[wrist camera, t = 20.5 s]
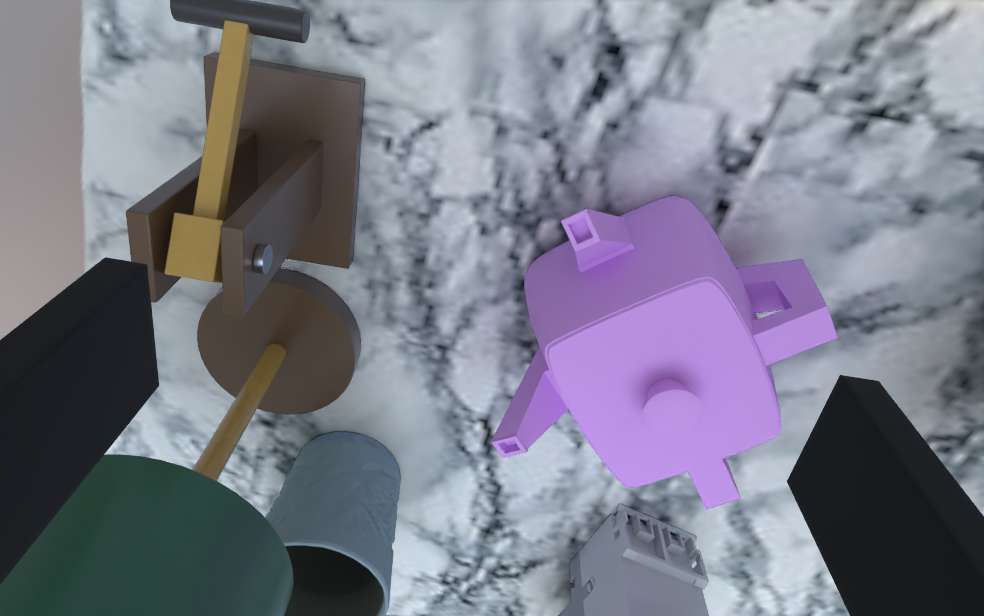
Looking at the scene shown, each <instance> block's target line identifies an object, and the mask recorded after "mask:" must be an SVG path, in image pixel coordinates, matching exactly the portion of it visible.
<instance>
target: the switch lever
mask: <svg viewBox="0 0 984 616" xmlns="http://www.w3.org/2000/svg"><path fill="white" fill-rule="evenodd" d="M170 8H171V13H172V16H173V18H174V19H175V20H176V21H180V22H186V23H191V24H197V25H203V26H209V27H214V28H220V29H223V34H222V40H221V47H220V53H219V59H218V65H217V71H216V77H215V83H214V90H213V96H212V102H211V108H210V114H209V120H208V127H207V133H206V139H205V145H204V151H203V157H202V163H201V170H200V176H199V182H198V188H197V194H196V200H195V207H194V213H193V215H188V214H182V213H174V218H173V224H172V231H171V237H170V243H169V249H168V255H167V261H166V268H165V274H167V275H173V276H179V277H186V278H192V279H198V280H205V281H211V282H220V283H222V257H221V231H220V227H221V225H222V224H223V223H224V222H225V221H224V217H225V211H226V205H227V199H228V193H229V187H230V181H231V174H232V168H233V162H234V156H235V150H236V144H237V137H238V131H239V125H240V119H241V113H242V107H243V100H244V94H245V88H246V82H247V76H248V70H249V63H250V57H251V51H252V45H253V39H254V35H260V36H266V37H271V38H277V39H283V40H288V41H294V42H300V43H305V42H306V41H307V39H308V36H309V30H310V18H309V14H308V12H307V11H306V10H301V9H296V8H290V7H284V6H279V5H273V4H267V3H262V2H256V1H250V0H170Z"/></svg>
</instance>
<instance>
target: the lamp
mask: <svg viewBox="0 0 984 616" xmlns="http://www.w3.org/2000/svg"><path fill="white" fill-rule="evenodd" d="M197 341H198V348H199V351H200V355H201V358H202V360H203V362H204V364H205V366H206V368H207V370H208V371H209V373H210V374H211V375H212V377H213V378H214V379H215V381H216V382H217V383H218V384H219V385H220V386H221V387H222V388H223V389H225V390H226V391H227V392H228V393H229V394H231V395H232V396H234V397H235V398H236V399H235V401H234V402H233V404H232V405H231V407H230V409H229V410H228V412H227V414H226V415H225V417H224V419H223V420H222V422H221V423H220V425H219V427H218V428H217V430H216V432H215V433H214V435H213V437H212V438H211V440H210V442H209V443H208V445H207V446H206V448H205V450H204V451H203V453H202V455H201V456H200V458H199V460H198V461H197V463H196V465H195V466H194V468H193V469H192V470H190V469H188V468H185V467H183V466H180V465H176V464H173V463H169V462H166V461H162V460H157V459H152V458H147V457H141V456H131V455H103V456H102V458H101V459H100V460H99V461H98V463H97V464H96V465H95V466H94V468H93V469H92V470H91V472H90V473H89V474H88V475H87V477H86V478H85V479H84V480H83V482H82V483H81V484H80V485H79V487H78V488H77V489H76V490H75V492H74V493H73V494H72V495H71V497H70V498H69V499H68V500H67V502H66V503H65V504H64V505H63V507H62V508H61V509H60V510H59V512H58V513H57V514H56V515H55V517H54V518H53V519H52V520H51V522H50V523H49V524H48V526H47V527H46V528H45V529H44V531H43V532H42V533H41V534H40V536H39V537H38V538H37V539H36V541H35V542H34V543H33V544H32V546H31V547H30V548H29V549H28V551H27V552H26V553H25V554H24V556H23V557H22V558H21V559H20V561H19V562H18V563H17V564H16V566H15V567H14V568H13V569H12V571H11V572H10V573H9V574H8V576H7V577H6V578H5V580H4V581H3V582H2V583H1V585H0V616H284V615H285V612H286V609H287V606H288V604H289V601H290V598H291V594H292V589H293V569H292V565H291V561H290V557H289V554H288V552H287V550H286V548H285V545H284V543H283V541H282V540H281V538H280V537H279V535H278V534H277V532H276V530H275V529H274V528H273V527H272V525H271V524H270V523H269V522H268V521H267V519H266V518H265V517H264V516H263V515H262V514H261V513H260V512H259V511H258V510H257V509H256V508H254V507H253V506H252V505H251V504H250V503H249V502H247V501H246V500H245V499H243V498H242V497H241V496H239V495H238V494H237V493H235V492H234V491H232V490H231V489H229V488H227V487H226V486H224V485H222V484H221V483H219V482H217V479H218V478H219V476H220V474H221V472H222V470H223V469H224V467H225V465H226V463H227V461H228V460H229V458H230V456H231V454H232V452H233V450H234V449H235V447H236V445H237V443H238V441H239V440H240V438H241V436H242V434H243V432H244V431H245V429H246V427H247V425H248V423H249V422H250V420H251V418H252V416H253V414H254V413H255V411H256V409H260V410H264V411H267V412H272V413H278V414H302V413H308V412H312V411H315V410H318V409H321V408H323V407H325V406H327V405H329V404H330V403H332V402H333V401H335V400H336V399H337V398H338V397H339V396H340V395H341V394H342V393H343V392H344V391H345V389H346V388H347V387H348V385H349V383H350V381H351V379H352V376H353V374H354V371H355V368H356V366H357V363H358V360H359V357H360V350H361V339H360V333H359V329H358V326H357V323H356V321H355V318H354V316H353V314H352V313H351V311H350V310H349V308H348V306H347V305H346V304H345V303H344V301H343V300H342V299H341V298H340V297H339V296H338V295H337V294H336V293H335V292H334V291H332V290H331V289H330V288H328V287H327V286H326V285H324V284H323V283H321V282H319V281H318V280H316V279H314V278H312V277H309V276H307V275H305V274H302V273H299V272H296V271H291V270H286V269H278V270H277V271H276V273H275V274H274V276H273V277H272V278H271V280H270V281H269V283H268V284H267V285H266V287H265V288H264V290H263V291H262V292H261V294H260V295H259V297H258V298H257V299H256V301H255V302H254V304H253V305H252V306H251V308H250V309H249V311H248V312H247V313H246V315H245V316H237V315H231V314H225V313H224V311H223V287H222V288H221V289H220V291H219V292H218V293H217V294H216V295H215V297H214V298H213V299H212V300H211V301H210V303H209V304H208V305H207V306H206V308H205V309H204V311H203V313H202V315H201V318H200V321H199V325H198V330H197Z"/></svg>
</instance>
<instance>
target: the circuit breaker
mask: <svg viewBox="0 0 984 616" xmlns="http://www.w3.org/2000/svg"><path fill="white" fill-rule="evenodd" d="M617 510H618V513H617V514H616V515H612V514H610V516H609V517H608V518H607V519H606V520H605V522H604V523H603V524H602V525H601V526H600V527H599V529H598V530H597V531H596V532H595V533H594V534H593V536H592V537H591V538H590V539H589V540H588V542H587V543H586V544H585V545H584V546H583V547H582V549H581V550H580V551H579V552H578V553H577V554H576V556H575V557H574V558H573V559H572V560H571V562H570V563H569V571H570V582H572V583H574V584H575V588H571V601H570V602H569V604H568V605H567V606H566V607H565V608H564V609H563V610H562V612H561V613H560V614H559V615H558V616H709V614H708V610H707V606H706V603H705V599H704V595H703V591H702V589H705V587H706V586H707V584H708V582H709V581H708V577H707V574H706V570H705V567H704V563H703V559H702V556H701V552H700V551H699V550H697V549H696V547H695V543H694V542H695V541H696V540H697V538H696V536H695V535H692V534H690V533H688V532H685V531H683V530H681V529H678V528H676V527H673V526H671V525H669V524H666V523H664V522H662V521H659V520H657V519H655V518H652V517H650V516H648V515H645V514H643V513H641V512H638V511H636V510H634V509H631V508H629V507H626V506H624V505H622V504H619V505H618V506H617ZM627 514H628V515H631V517H630V518H629V519H628V516H627ZM640 519H642V520H644V521H646V522H645V523H643V522H641V521H640ZM670 532H673V533H675V534H674V535H672V534H670ZM695 561H696V562H697V565H696V566H695V567H694V568H692V566H691V565H692V564H693V563H694V562H695Z"/></svg>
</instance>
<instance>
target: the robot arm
mask: <svg viewBox="0 0 984 616" xmlns="http://www.w3.org/2000/svg"><path fill="white" fill-rule="evenodd" d="M158 386H159V380H158V370H157V359H156V349H155V339H154V329H153V318H152V308H151V298H150V288H149V277H148V267H147V264H142V263H136V262H130V261H124V260H117V259H111V258H104V259H102V260H101V261H100V262H99V263H97V264H96V265H95V266H94V267H92V268H91V269H90V270H89V271H87V272H86V273H85V274H83V275H82V276H81V277H80V278H78V279H77V280H76V281H75V282H73V283H72V284H71V285H70V286H68V287H67V288H66V289H65V290H63V291H62V292H61V293H60V294H58V295H57V296H56V297H55V298H53V299H52V300H51V301H49V302H48V303H47V304H45V305H44V306H43V307H42V308H40V309H39V310H38V311H37V312H35V313H34V314H33V315H32V316H30V317H29V318H28V319H26V320H25V321H24V322H23V323H21V324H20V325H19V326H18V327H16V328H15V329H14V330H13V331H11V332H10V333H9V334H7V335H6V336H5V337H4V338H2V339H1V340H0V585H1V583H2V582H3V581H4V580H5V578H6V577H7V576H8V574H9V573H10V572H11V571H12V569H13V568H14V567H15V566H16V564H17V563H18V562H19V561H20V559H21V558H22V557H23V556H24V554H25V553H26V552H27V551H28V549H29V548H30V547H31V546H32V544H33V543H34V542H35V541H36V539H37V538H38V537H39V536H40V534H41V533H42V532H43V531H44V529H45V528H46V527H47V526H48V524H49V523H50V522H51V520H52V519H53V518H54V517H55V515H56V514H57V513H58V512H59V510H60V509H61V508H62V507H63V505H64V504H65V503H66V502H67V500H68V499H69V498H70V497H71V495H72V494H73V493H74V492H75V490H76V489H77V488H78V487H79V485H80V484H81V483H82V482H83V480H84V479H85V478H86V477H87V475H88V474H89V473H90V472H91V470H92V469H93V468H94V466H95V465H96V464H97V463H98V461H99V460H100V459H101V458H102V456H103V455H104V454H105V453H106V451H107V450H108V449H109V448H110V446H111V445H112V444H113V443H114V441H115V440H116V439H117V438H118V436H119V435H120V434H121V433H122V431H123V430H124V429H125V428H126V426H127V425H128V424H129V423H130V421H131V420H132V419H133V418H134V416H135V415H136V414H137V413H138V411H139V410H140V409H141V407H142V406H143V405H144V404H145V402H146V401H147V400H148V399H149V397H150V396H151V395H152V394H153V392H154V391H155V390H156V389H157V387H158ZM787 483H788V485H789V487H790V489H791V491H792V493H793V495H794V497H795V500H796V502H797V504H798V506H799V508H800V510H801V512H802V514H803V517H804V519H805V521H806V523H807V525H808V527H809V529H810V531H811V534H812V536H813V538H814V540H815V542H816V544H817V546H818V548H819V550H820V553H821V555H822V557H823V559H824V561H825V563H826V565H827V567H828V570H829V572H830V574H831V576H832V578H833V580H834V582H835V584H836V587H837V589H838V591H839V593H840V595H841V597H842V599H843V601H844V604H845V606H846V608H847V610H848V612H849V614H850V616H984V516H983V515H982V514H981V512H980V511H979V510H978V508H977V507H976V506H975V505H974V503H973V502H972V501H971V499H970V498H969V497H968V496H967V494H966V493H965V492H964V490H963V489H962V488H961V487H960V485H959V484H958V483H957V481H956V480H955V479H954V478H953V476H952V475H951V474H950V472H949V471H948V470H947V468H946V467H945V466H944V465H943V463H942V462H941V461H940V459H939V458H938V457H937V456H936V454H935V453H934V452H933V450H932V449H931V448H930V447H929V445H928V444H927V443H926V441H925V440H924V439H923V438H922V436H921V435H920V434H919V432H918V431H917V430H916V429H915V427H914V426H913V425H912V423H911V422H910V421H909V420H908V418H907V417H906V416H905V414H904V413H903V412H902V411H901V409H900V408H899V407H898V405H897V404H896V403H895V402H894V400H893V399H892V398H891V396H890V395H889V394H888V393H887V391H886V390H885V389H884V387H883V386H882V385H881V384H880V382H879V381H874V380H868V379H861V378H855V377H849V376H843V375H840V376H839V378H838V380H837V382H836V384H835V386H834V388H833V390H832V392H831V394H830V396H829V398H828V400H827V402H826V404H825V406H824V408H823V410H822V412H821V414H820V416H819V418H818V420H817V422H816V424H815V426H814V428H813V430H812V432H811V434H810V436H809V438H808V440H807V442H806V444H805V446H804V448H803V450H802V452H801V454H800V456H799V458H798V460H797V462H796V464H795V466H794V468H793V470H792V472H791V474H790V476H789V478H788V480H787Z"/></svg>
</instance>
